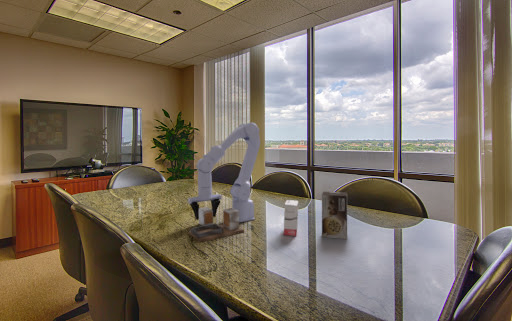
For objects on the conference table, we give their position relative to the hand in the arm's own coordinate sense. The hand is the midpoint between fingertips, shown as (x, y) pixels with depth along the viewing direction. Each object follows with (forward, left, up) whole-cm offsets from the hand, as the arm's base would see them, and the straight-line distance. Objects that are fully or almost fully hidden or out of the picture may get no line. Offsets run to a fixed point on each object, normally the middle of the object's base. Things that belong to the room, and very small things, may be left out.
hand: (205, 217), depth 116 cm
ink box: (-24, +28, -3) cm, 37 cm away
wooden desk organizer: (0, +12, -3) cm, 12 cm away
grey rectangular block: (0, 0, -3) cm, 3 cm away
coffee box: (-35, +40, -3) cm, 53 cm away
